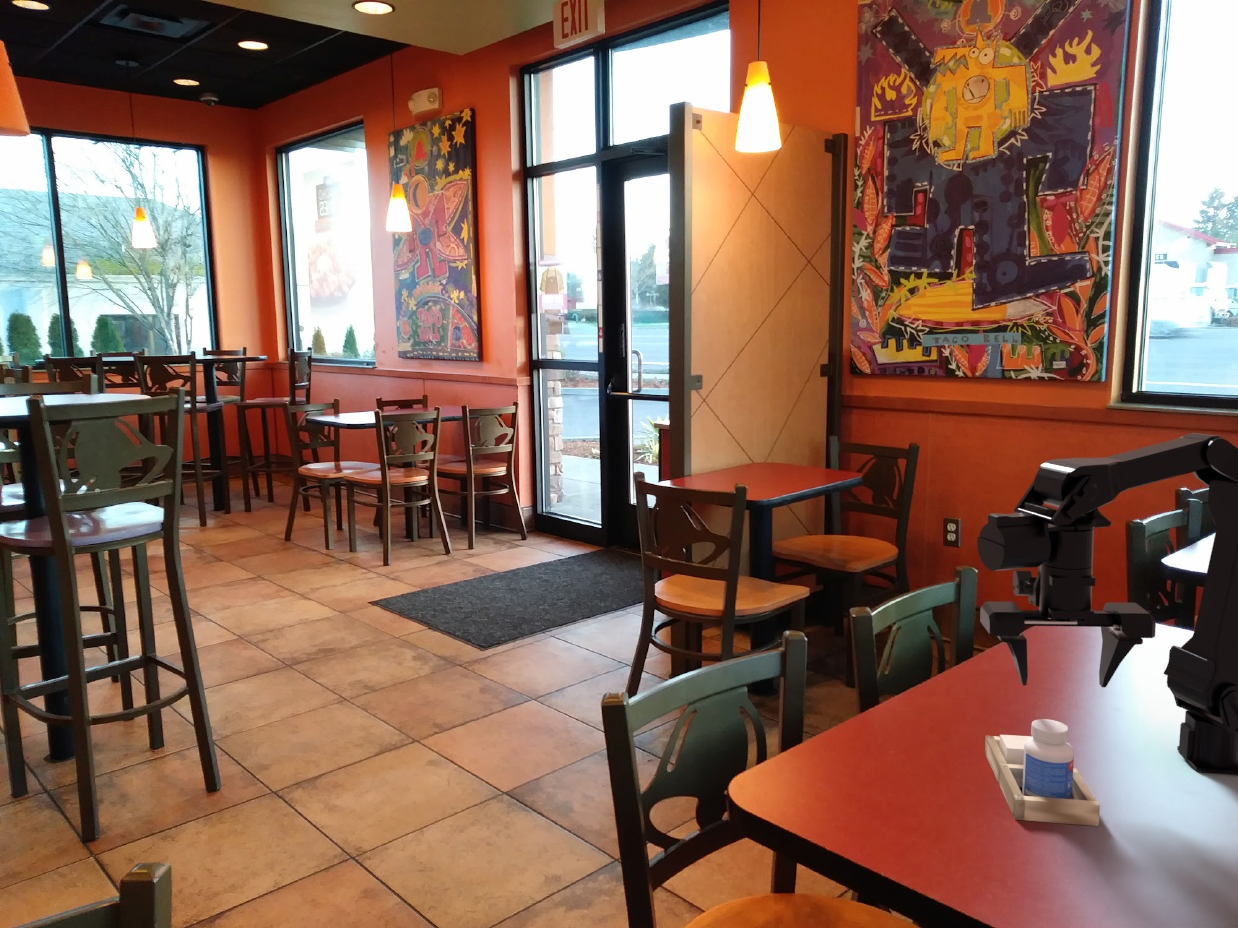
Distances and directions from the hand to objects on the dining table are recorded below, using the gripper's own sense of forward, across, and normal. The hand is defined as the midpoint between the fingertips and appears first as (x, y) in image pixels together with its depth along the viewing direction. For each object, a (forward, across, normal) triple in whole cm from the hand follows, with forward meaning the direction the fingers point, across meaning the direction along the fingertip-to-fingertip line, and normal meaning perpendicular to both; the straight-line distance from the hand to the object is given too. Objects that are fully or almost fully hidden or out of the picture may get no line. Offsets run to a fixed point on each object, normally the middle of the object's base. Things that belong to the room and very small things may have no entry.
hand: (1062, 685), depth 111 cm
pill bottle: (+13, +3, +6) cm, 14 cm away
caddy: (+12, +3, +2) cm, 13 cm away
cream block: (+13, +4, -2) cm, 14 cm away
